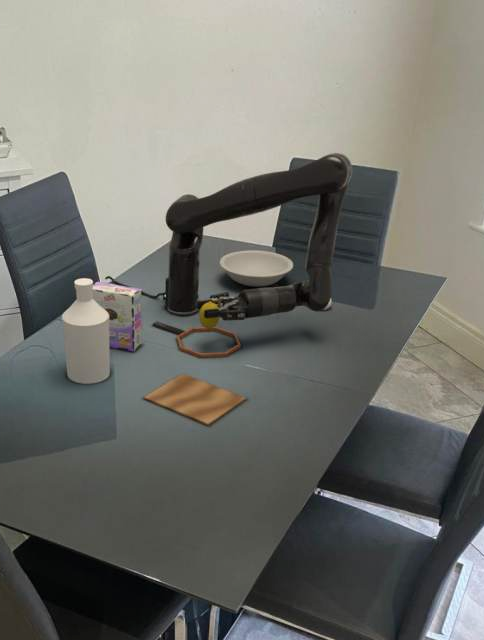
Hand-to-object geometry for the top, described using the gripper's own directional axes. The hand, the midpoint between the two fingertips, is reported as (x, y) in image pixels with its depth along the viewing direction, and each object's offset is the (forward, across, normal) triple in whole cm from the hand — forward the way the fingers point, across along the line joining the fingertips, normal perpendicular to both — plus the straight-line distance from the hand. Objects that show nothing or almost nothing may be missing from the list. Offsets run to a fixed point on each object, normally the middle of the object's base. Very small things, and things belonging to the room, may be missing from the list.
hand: (201, 309), depth 200 cm
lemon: (-3, 0, +6) cm, 7 cm away
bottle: (+33, +6, +12) cm, 35 cm away
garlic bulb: (-46, -18, +12) cm, 51 cm away
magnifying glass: (-1, -7, +12) cm, 14 cm away
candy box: (+22, -10, +12) cm, 27 cm away
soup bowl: (-34, -42, +12) cm, 55 cm away
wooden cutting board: (+10, +26, +12) cm, 30 cm away
